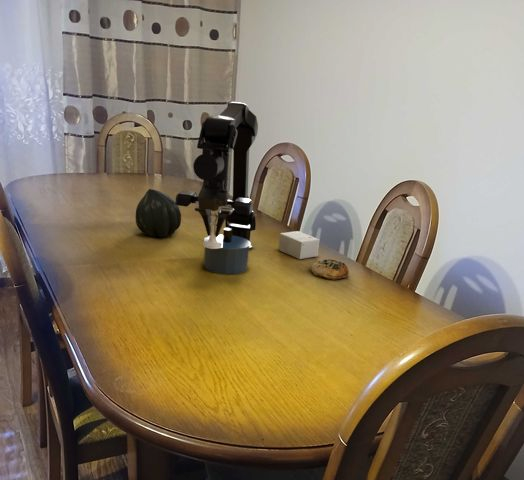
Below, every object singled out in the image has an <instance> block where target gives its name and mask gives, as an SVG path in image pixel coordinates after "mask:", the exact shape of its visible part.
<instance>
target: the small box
mask: <svg viewBox="0 0 524 480" xmlns="http://www.w3.org/2000/svg"><path fill="white" fill-rule="evenodd" d="M278 238H279V239H278V248H277V250H278V251H280V252H282V253H284V254H287V255H289V256H291V257H293V258H295V259H298V260H304V259H309V258H316V257H318V255H319V248H320V241H321V239H320V238H317V237H314V236H312V235H309V234H307V233H304V232H302V231H299V230H296V231H288V232H281V233H279V237H278Z"/></svg>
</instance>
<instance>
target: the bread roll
mask: <svg viewBox="0 0 524 480" xmlns="http://www.w3.org/2000/svg"><path fill="white" fill-rule="evenodd" d="M310 271H311V272H312V273H313V275H314V276H318V277H322V278H325V279H328V280H332V281H338V280H340V279H345V278H347V277H348V276H349V268H348V266H347V265H346V263H345V262H342V261H341V260H336V259H332V258H331V259H329V258H328V259H326V258H325V259H322V260H316V261H315V262H314V263H312V264H311V269H310Z"/></svg>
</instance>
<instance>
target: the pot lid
mask: <svg viewBox="0 0 524 480" xmlns="http://www.w3.org/2000/svg"><path fill="white" fill-rule="evenodd" d="M209 238H210V236H208V235H207V236H205V237H204V238H203V242H204V241H207V240H208V239H209ZM216 239H217V241H219V242H221V244H222V247H221V248H219V249H221V250H243V249H247V248H249V247H250V246H252V244H251V243H252V242H251V240H250V241H248V240H247V239H245V238H242V237H238V236H233V235H232V229H231V228H228V227H227V228H226V227H224V228H223V234H219V235H218V237H216ZM203 242H202V243H203Z"/></svg>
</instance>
